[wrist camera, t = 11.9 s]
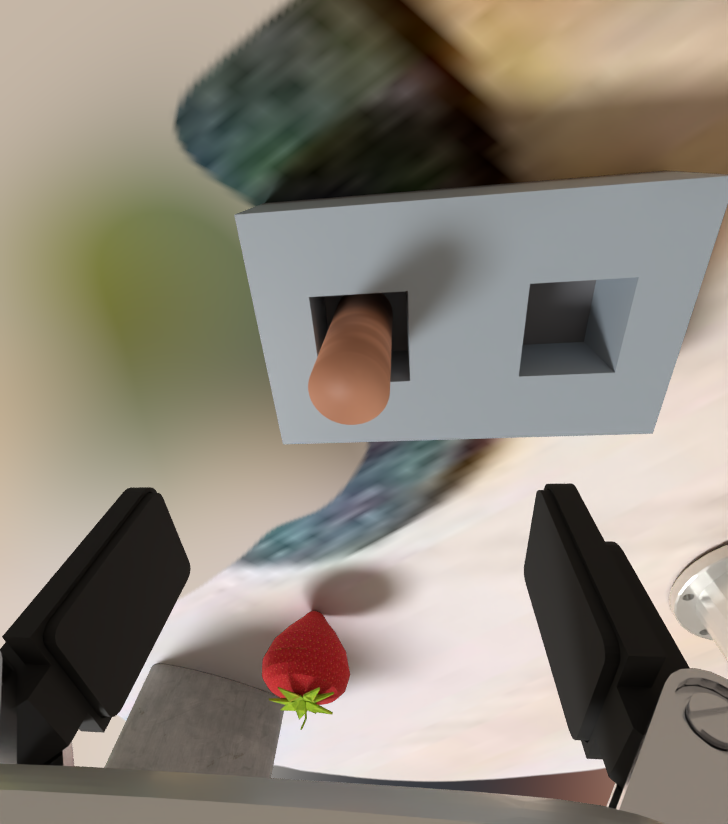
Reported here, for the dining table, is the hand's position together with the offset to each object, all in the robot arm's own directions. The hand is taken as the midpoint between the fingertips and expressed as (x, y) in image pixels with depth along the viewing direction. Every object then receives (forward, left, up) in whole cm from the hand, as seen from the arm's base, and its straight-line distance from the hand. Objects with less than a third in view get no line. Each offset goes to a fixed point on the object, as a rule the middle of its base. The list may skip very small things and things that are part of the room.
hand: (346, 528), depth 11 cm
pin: (0, 0, -16) cm, 16 cm away
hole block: (-5, 0, -17) cm, 18 cm away
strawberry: (+7, +29, -17) cm, 34 cm away
